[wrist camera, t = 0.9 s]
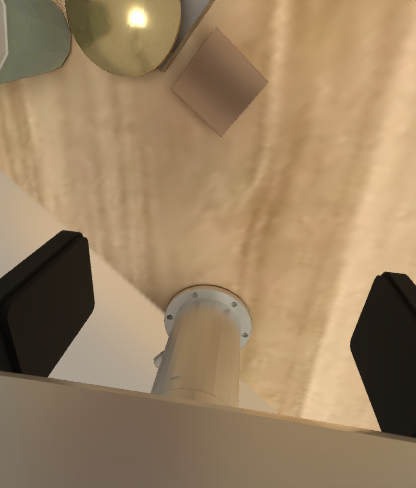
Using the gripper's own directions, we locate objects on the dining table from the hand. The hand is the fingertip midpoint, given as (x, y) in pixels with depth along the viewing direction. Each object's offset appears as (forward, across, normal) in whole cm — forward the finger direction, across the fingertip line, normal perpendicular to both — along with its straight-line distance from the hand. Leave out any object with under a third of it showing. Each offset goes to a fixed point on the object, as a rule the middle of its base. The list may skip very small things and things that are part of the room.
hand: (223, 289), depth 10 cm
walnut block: (+28, +3, -6) cm, 28 cm away
